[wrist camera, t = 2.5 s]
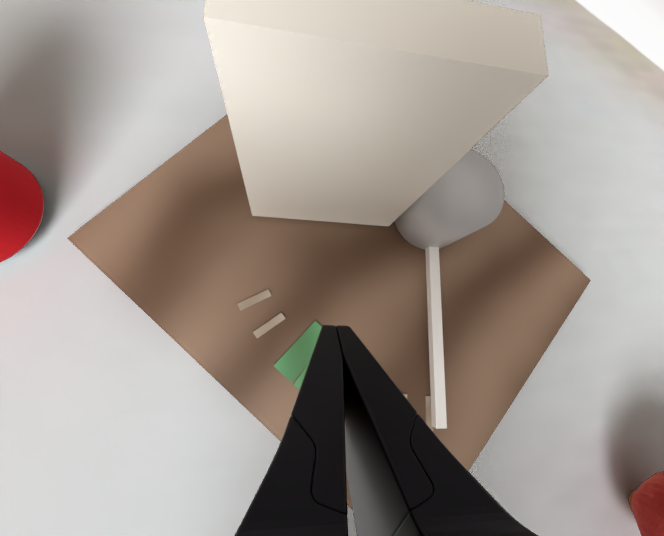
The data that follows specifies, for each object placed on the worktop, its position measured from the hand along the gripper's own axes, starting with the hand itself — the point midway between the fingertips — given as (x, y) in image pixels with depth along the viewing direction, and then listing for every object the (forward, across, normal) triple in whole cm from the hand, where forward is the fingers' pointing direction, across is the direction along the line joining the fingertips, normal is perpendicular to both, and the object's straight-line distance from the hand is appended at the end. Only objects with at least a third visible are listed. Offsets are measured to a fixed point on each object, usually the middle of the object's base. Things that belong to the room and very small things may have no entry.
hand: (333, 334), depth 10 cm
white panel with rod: (+7, -3, +4) cm, 8 cm away
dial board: (+9, -3, +3) cm, 10 cm away
